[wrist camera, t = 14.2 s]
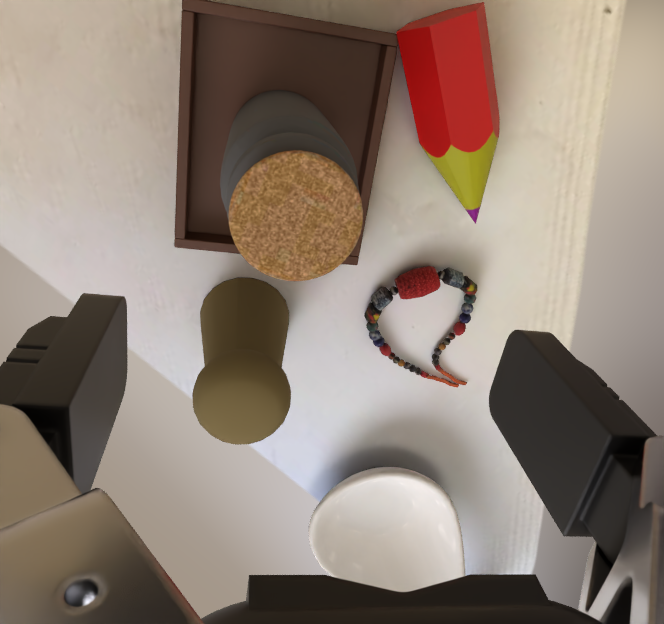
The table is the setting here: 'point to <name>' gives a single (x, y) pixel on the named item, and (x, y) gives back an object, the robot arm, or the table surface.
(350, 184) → the bottle
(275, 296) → the pepper shaker
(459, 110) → the pencil
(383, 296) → the necklace
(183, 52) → the tray
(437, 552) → the spoon rest
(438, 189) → the table surface
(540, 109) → the table surface
